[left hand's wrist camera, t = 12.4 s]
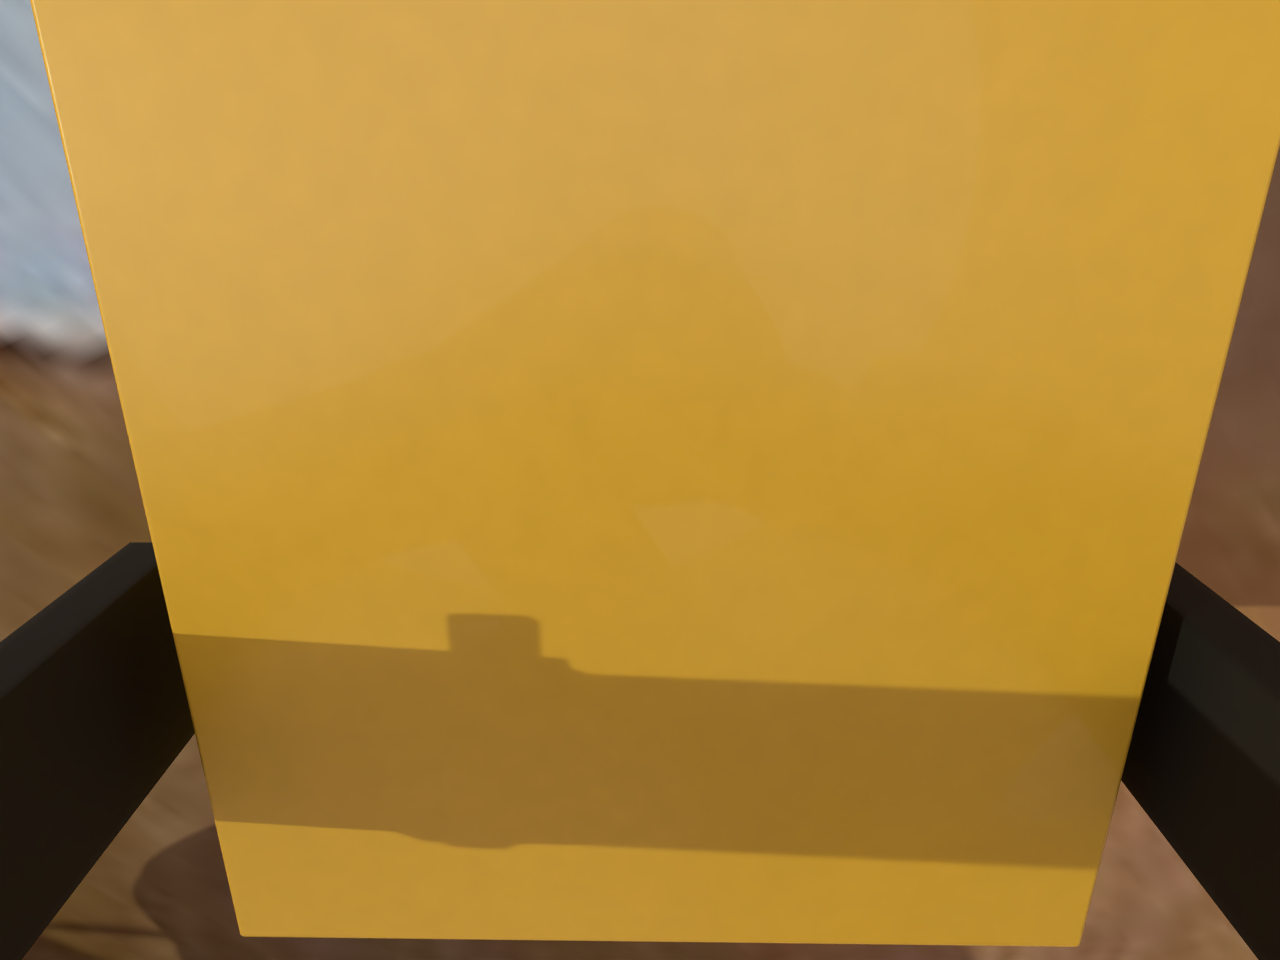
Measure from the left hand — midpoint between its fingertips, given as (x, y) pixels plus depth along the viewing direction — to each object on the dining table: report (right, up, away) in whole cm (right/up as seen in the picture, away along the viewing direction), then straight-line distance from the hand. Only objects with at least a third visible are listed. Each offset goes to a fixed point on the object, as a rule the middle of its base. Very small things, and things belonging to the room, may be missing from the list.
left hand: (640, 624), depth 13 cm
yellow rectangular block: (0, +10, +5) cm, 11 cm away
